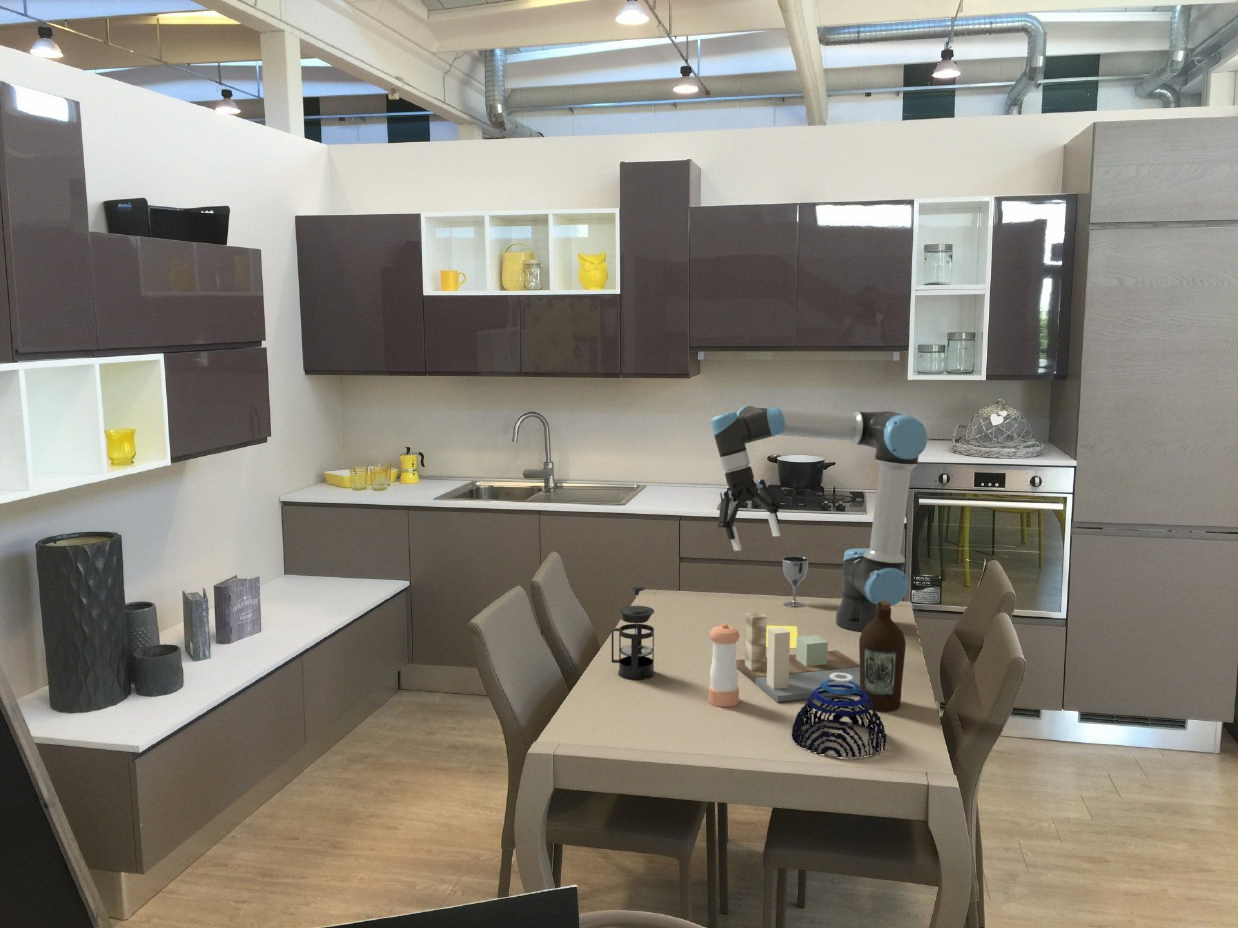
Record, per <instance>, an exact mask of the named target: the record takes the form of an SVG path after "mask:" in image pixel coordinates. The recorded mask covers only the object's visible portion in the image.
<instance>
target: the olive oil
mask: <svg viewBox="0 0 1238 928" xmlns="http://www.w3.org/2000/svg"><path fill="white" fill-rule="evenodd" d="M891 607H892V606H891V603H890V602H888V601H878V602H877V608H876V618H875V619H874V620H873V621H872V622H871V623H869V624H868V625H867V626H866V627H865V628H864V629H863V631H861V634H860V636H859V642H858V643H859V644H858V647H859V648H858V650H859V651H858V652H859V654H858V655H859V665H860V690H863V691H864V692H865V693H866V694H867V696H868V697H869V699H871V701H872V708H871V710H873V709H874V710H876V712H894V711H896V710H898V709H899V708H900V707H901V702H902V700H901V699H902V688H903V677H904V668H905V667H904V666H905V656H906V647H907V645H906V639H905V635H904V633H903V630H901V628H900V627H899V626H898V625H897V624H896V623H895V621H894V620H893V619H892V617H891V616H892V608H891ZM860 694H862V693H860ZM862 695H863V694H862ZM859 699H861V697H860V696H859ZM862 705H864V706H865V707H868V705H869V701H867V703H864V704H862Z"/></svg>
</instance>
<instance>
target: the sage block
mask: <svg viewBox="0 0 1238 928" xmlns="http://www.w3.org/2000/svg"><path fill="white" fill-rule="evenodd" d="M795 640H796V643H795V645H796V646H795V649H796V650H795V651H796V652H795V654H796V659H797V660H798V661H799V662H801V663H802V664H804V665H805V666H816V665H825V664H827V655H828V651H829V650H828V648H829V643H828V641H827V640H825V639H824V638H823V637H821V636H819V635H817V634H816V635H804V636H803V635H802V636H798V637H797V636H796V639H795Z"/></svg>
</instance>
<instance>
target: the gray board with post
mask: <svg viewBox="0 0 1238 928" xmlns="http://www.w3.org/2000/svg"><path fill="white" fill-rule="evenodd" d="M790 645H791V631H790V630H787V628H785V627H771V628H767V646H766V657H767V676H766V677H757V678H755V684H756V685H757V686H758V687H759V688H760V689H761V690H763V692H765V693H766V694H767V695H769V697H771V698H772V699H773V700H774V701H775V702H777V703H781V702H790V701H791V702H792V701H800V700H807V699H808V698H809V696H810V695H812V693H813V691H814V690H815V689H817V688H818V687H820V686H821V685H820V684H821V683H823V682H824V681H826V680H830V678H829V676H830V674H832V673H846V674H850V675H851V676H852V677H853V679H852V680H850V681H852V682H856V683H858V684H859V686H860V667H853V668H843V669H834V670H824V671H814V672H805V673H795V674H789V655H790V650H791V649H790V647H791V646H790ZM835 678H839V679H847V678H846V676H840V675H838V676H835ZM830 684H832V685H833V684H841V685H842V684H843V685H849V686H853V687H855V686H854V685H853V684H851V683H848V682H839V681H832V682H828V683H827V685H830ZM830 688H831V687H830ZM832 689H837V690H851V689H849V688H841V687H839V688H838V687H832ZM822 690H824V689H823V688H822V689H819V690H817V691H822ZM856 693H860V692H856ZM819 695H821V696H822V697H824V698H826V697H827V698H829V697H838V696H845V695H847V694H835V693H830V692H829V693H823V694H821V693H820V694H819ZM811 699H814V698H813V697H812V698H811Z"/></svg>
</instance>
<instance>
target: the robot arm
mask: <svg viewBox="0 0 1238 928" xmlns="http://www.w3.org/2000/svg"><path fill="white" fill-rule="evenodd" d="M710 422H711V423H710V424H711V429H712V432H713V433H712V434H713V437H714V440H715V444H716V447H717V450H718V454H719V457H720V461H721V466H722V469H723V471H725V473H724V477H725V480H726V485H727V486H728V488H729V490H728V491H727V490H726V491H725V490H724V491H721V492H720V493H719V494H720V506H719V514H718V515H719V516H718V522H717V523H718V524H717V527H718V528H720V529H725V532H726V535H727V538H728V540H729V541H731V544H732V548H733V551H734V552H738V551H739V552H740V551H743V549H742V546H741V542H740V539H739V534H738V531H737V527H736V526H734V523H735V520H736V517H737V514H738V512H739V509H740V506H742V504H743V503H746V502H749V501H752V500H753V501H754V502H755V503H756V504H758V505H760V507H761V508H763V509H764V510H766V511H767V512H768V513H766V516H767V520H768V523H769V527H770V530H771V535H772V537H775V538H776V537H780V536H782V535H781V531H780V529H779V528H780V527H779V524H780V519H779V517H778V512H780V511H779V509H781V508H782V504H781V502H780V501H779V500H778V498H776V496H775V495H774V494H773V492H772V491H771V490H770V489H769V487H768V486H767V483H766V481H765V479H757V480H756V481H755V480H754V478H755V476H754V472H753V469H752V466H750V464H751V460H750V456H749V454H748V451H747V447H746V444H750V443H753V442H757V441H760V440H764V439H768V438H771V437H772V438H773V437H775V436H785V437H786V436H787V437H797V438H799V437H800V438H812V439H822V440H823V439H825V440H838V441H839V440H841V441H850V442H851V443H852V445H859V446H867V447H870V448H873V449H876V450H875V454H874V461H875V462H876V464H878V466H879V469H878V478H877V485H876V494H875V502H874V510H873V518H872V527H871V533H870V534H871V535H870V544H869V548H862V547H861V548H849V549H847V550H845V552H844V553H843V554H844V557H843V560H842V563H843V572H842V573H843V575H842V576H843V578H842V599H841V601H840V604H839V606H838V609H837V612H836V615H835V624H836V625H837V626H838V627H840V628H842V629H846V630H849V631H856V632H862V631H863V629H864V628H865V627H866V626H867V625H868V624H869V623H871V622H872V621H873V620H874V619H875V618H876V608H877V602H878V601H888V602H890V603H891V606H890V607H892V606H894V605H895V606H896V605H897V604H899V603H900V602H901V601H903V599H904V598H905V597H906V595H907V593H908V590H909V580H908V578H907V576H906V574H905V565H906V559H905V557H904V556H903V555H902V553H901V552H902V551H901V549H902V542H903V537H904V536H903V535H904V527H905V522H906V521H905V520H906V512H907V504H908V498H909V497H908V496H909V488H910V482H911V481H910V480H911V473H912V470H913V469H915V468H916V467H917V465H918V462H919V456H920V455H921V454H922V453H923V452H924V451H925V449H926V447H927V444H928V443H927V442H928V433H927V430H926V427H925V426H924V425H923V423H922V422H921V421H920V420H919V419H917V418H915V417H914V416H913V415H910V414H905V413H899V412H896V411H890V410H887V411H885V410H883V411H855V412H854V413H853V414H850V413H849V414H847V413H835V412H823V411H820V412H819V411H808V410H795V409H794V410H793V409H783V408H782V409H781V408H778V407H772V408H766V407H755V406H753V405H746V406H743V407H741V408H739V410H738V411H731V412H727V413H724V414H719V415H715V416H712V418H711V420H710ZM757 489H758V490H759V491H760V493H761V494H762V495H761V494H760V493H759V492H758V491H757ZM762 496H763V497H762ZM731 497H732V498H731ZM730 499H731V501H730Z"/></svg>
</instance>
